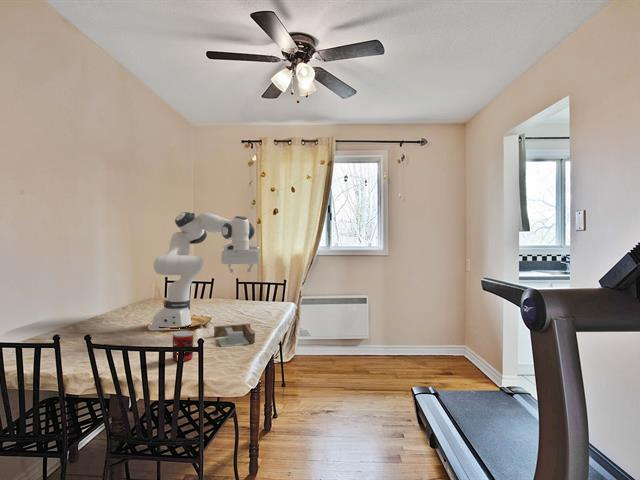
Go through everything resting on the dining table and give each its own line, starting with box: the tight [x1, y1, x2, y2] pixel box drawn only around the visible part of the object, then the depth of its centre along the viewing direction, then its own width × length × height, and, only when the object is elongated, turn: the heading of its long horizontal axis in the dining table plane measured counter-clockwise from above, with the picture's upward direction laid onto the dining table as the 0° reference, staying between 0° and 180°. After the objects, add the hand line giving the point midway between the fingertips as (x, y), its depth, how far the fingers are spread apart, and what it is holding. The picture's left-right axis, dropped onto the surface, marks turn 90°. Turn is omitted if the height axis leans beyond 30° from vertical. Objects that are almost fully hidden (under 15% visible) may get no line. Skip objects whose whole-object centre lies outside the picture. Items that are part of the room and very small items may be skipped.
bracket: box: [224, 327, 244, 345], centre depth 177 cm, size 11×7×5 cm, turn 23°
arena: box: [213, 323, 256, 345], centre depth 179 cm, size 18×18×5 cm
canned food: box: [172, 330, 194, 363], centre depth 151 cm, size 8×8×11 cm
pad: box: [216, 335, 250, 348], centre depth 177 cm, size 13×14×1 cm
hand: (240, 272), depth 195 cm, fingers open, 8 cm apart
